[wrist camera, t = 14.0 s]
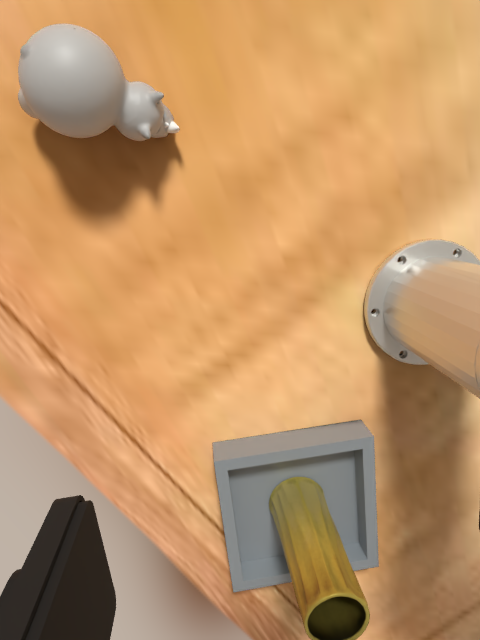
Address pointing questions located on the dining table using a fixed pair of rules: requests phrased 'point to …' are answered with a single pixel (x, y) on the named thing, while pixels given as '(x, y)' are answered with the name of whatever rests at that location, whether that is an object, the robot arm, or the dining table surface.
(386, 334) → the robot arm
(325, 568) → the vase
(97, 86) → the chubby cartoon animal
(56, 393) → the dining table surface
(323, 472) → the tray
